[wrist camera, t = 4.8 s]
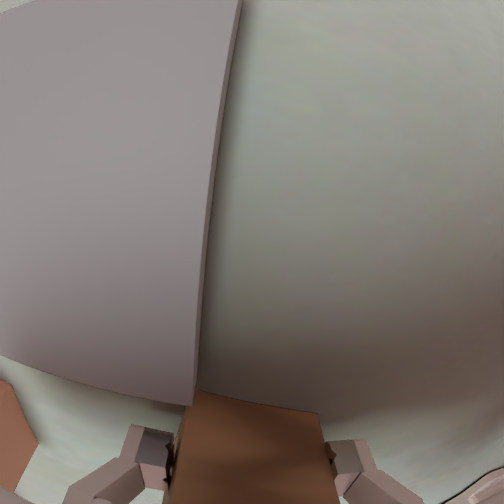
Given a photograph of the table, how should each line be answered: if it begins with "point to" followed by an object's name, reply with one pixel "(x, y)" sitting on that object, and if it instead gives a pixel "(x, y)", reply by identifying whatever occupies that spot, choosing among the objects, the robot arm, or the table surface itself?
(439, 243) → the table surface
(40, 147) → the base plate
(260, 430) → the walnut brick
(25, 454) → the terracotta brick
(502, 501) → the robot arm
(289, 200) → the table surface
